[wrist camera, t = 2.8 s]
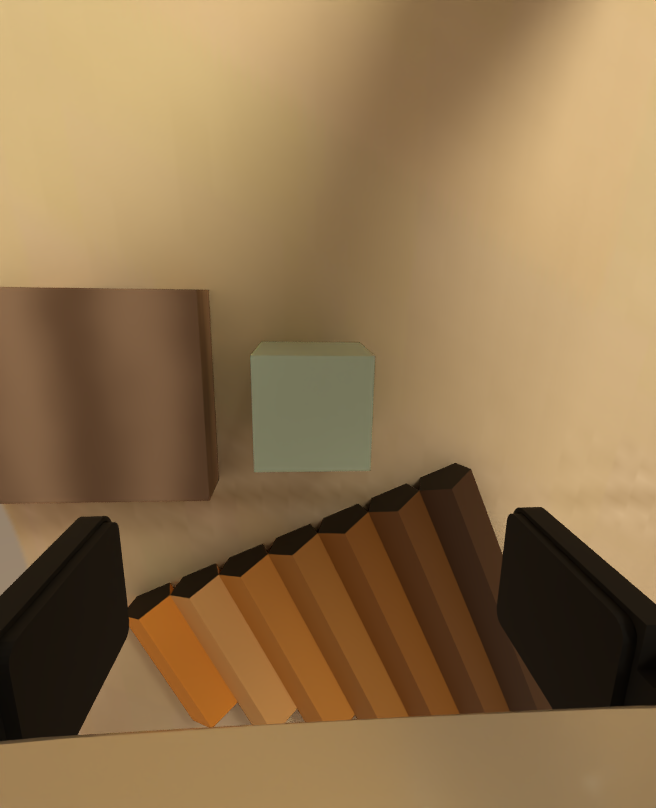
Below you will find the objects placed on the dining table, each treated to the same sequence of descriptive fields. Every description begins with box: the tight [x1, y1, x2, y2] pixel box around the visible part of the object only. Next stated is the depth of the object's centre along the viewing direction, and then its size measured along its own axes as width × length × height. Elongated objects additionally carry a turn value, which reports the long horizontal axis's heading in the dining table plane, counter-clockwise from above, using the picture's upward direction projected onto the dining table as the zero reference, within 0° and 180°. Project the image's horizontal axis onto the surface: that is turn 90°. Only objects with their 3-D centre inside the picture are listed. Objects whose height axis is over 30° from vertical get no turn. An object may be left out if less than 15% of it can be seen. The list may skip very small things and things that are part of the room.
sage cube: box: [250, 342, 375, 472], centre depth 24 cm, size 6×6×6 cm
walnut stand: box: [0, 287, 219, 504], centre depth 25 cm, size 12×12×3 cm
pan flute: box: [128, 463, 553, 727], centre depth 32 cm, size 25×3×25 cm
